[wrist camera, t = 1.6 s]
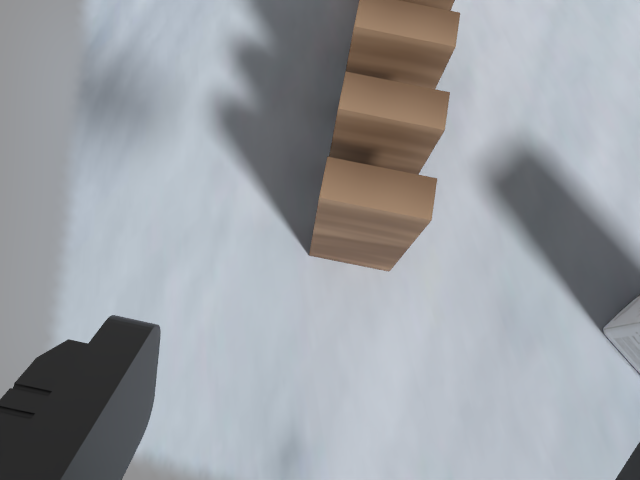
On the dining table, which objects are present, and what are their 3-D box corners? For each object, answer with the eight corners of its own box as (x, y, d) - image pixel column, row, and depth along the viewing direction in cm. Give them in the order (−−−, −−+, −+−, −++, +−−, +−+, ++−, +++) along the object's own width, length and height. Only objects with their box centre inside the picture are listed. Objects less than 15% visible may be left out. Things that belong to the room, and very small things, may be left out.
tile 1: (389, 271, 34) (431, 220, 24) (309, 255, 34) (319, 197, 24) (394, 240, 34) (437, 178, 25) (315, 224, 34) (327, 156, 24)
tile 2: (400, 204, 35) (444, 129, 25) (323, 188, 35) (338, 108, 25) (405, 175, 35) (449, 92, 26) (328, 160, 35) (345, 71, 26)
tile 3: (410, 140, 36) (455, 46, 27) (335, 125, 36) (353, 26, 27) (414, 113, 37) (460, 12, 27) (340, 99, 37) (360, -8, 27)
